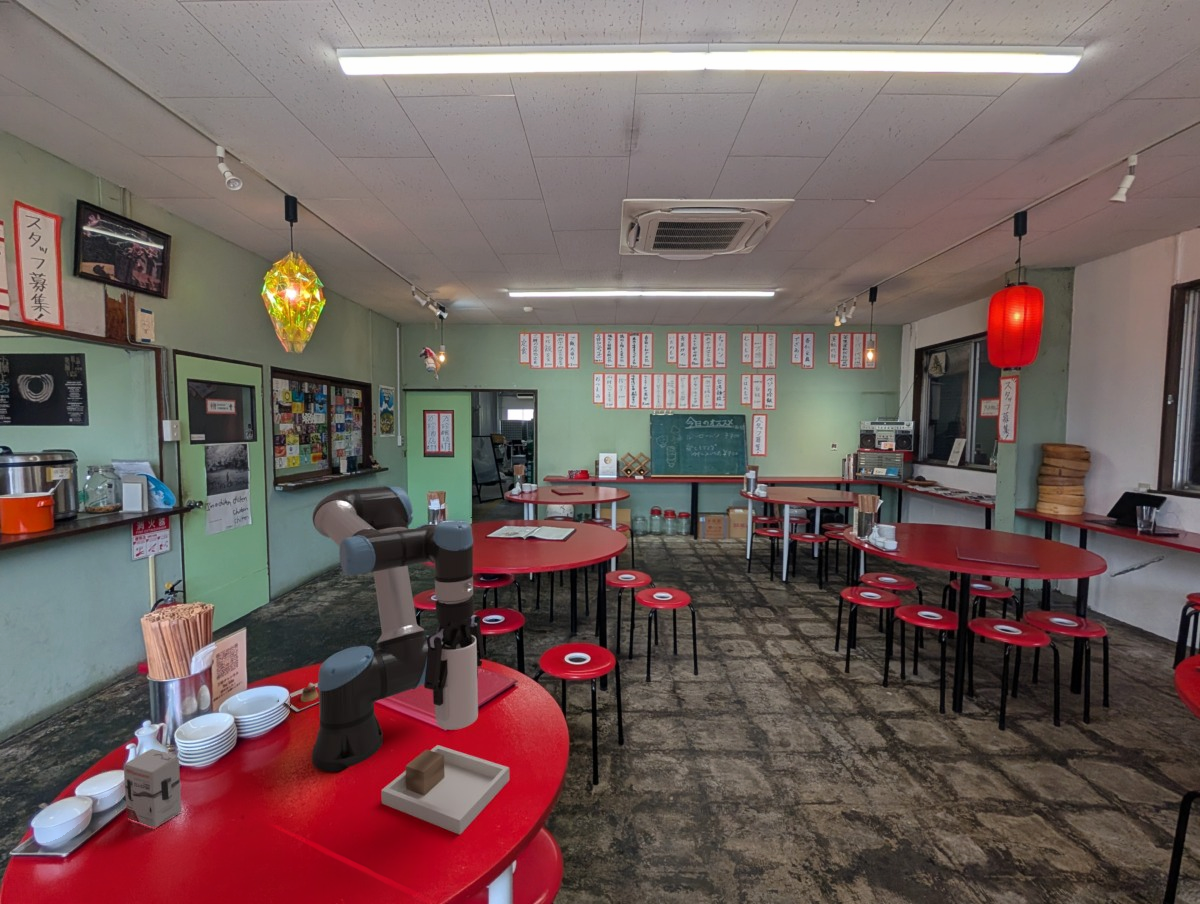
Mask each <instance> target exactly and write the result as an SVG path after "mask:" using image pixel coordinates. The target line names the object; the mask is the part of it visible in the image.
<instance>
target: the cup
mask: <svg viewBox="0 0 1200 904" xmlns="http://www.w3.org/2000/svg"><path fill="white" fill-rule="evenodd" d="M471 636H472V644H471V645H469V646H467V647H464V648H461V646H460V644H458V645H457V646H456V649H454V650H445V649H442V655H441V660H447V667H448V674H447V678H446V683H445V686H448V712H449V719H448V720H447V721H444V720H441V719H437V718H435V719H436V720H435V721H436V725H437V726H438V727H439V728H441V729H443V730H450V731H452V730H460V729H463V728H466V727H469V726H470V725H472V724H474V723H475V722H476V721H477V719H478V718H479V717H478V716H479V699H478V698H479V697H478V694H479V693H478V691H479V690H478V678H477V652H478V651H477V643H476V637H474V636H473V635H471ZM445 646H446V647H450V646H449V645H446V644H445ZM439 682H440V681H439Z"/></svg>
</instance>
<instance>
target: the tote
mask: <svg viewBox="0 0 1200 904" xmlns="http://www.w3.org/2000/svg"><path fill="white" fill-rule="evenodd" d="M429 750H430V749H429ZM430 751H433V752H436V753H439V754H442V755H444V778H443V779H442V780H441V781H440V782H439V783H438V784H437V785H436V786H435V787H434V788H432V789H431V790H430V791H429V792H428V793H427V794H426V795H425V796H423V795H421V794H418V793H415V792H413V791H410V790H407V789H406V770H404V771H403V772H402V773H401V774H399V776H396V778H394V780H392V781H391V782H390V783H388V784H387V785H386V786H384V788H382V789H381V804H383V805H384V806H387V807H389V808H392V809H395V810H398V811H400V812H402V813H405V814H407V815H410V816H412V817H414V818H417V819H420V820H422V821H425V822H428V823H429V824H432V825H435V826H437V827H440V828H443V829H445V830H447V831H450V832H452V833H455V834H456V835H457V834H458V835H461V834H462V833H464V831H465V830H466V829H467V828H468V827H469V825H470V824H472V822H473V821H474V820H475V819H476V818H477V816H478V815H479V814H481V813H482V811H483V810H484V809H485V808H486V806H488V805H489V803H490V802H491V801H492V800H493V799H494V798H495V796H496V795H498V793H499V792H500V791H502V789H503V788H504V787H505V786H506V785H507V784H508V782H509V781H510V767H509V766H506V765H502V764H500V763H495V762H493V761H489V760H486V759H484V758H480V757H477V756H474V755H471V754H467V753H464V752H461V751H457V750H454V749H451V748H448V747H445V746H442V745H438V744H436V746H434V747H433V748H431V750H430Z"/></svg>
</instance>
